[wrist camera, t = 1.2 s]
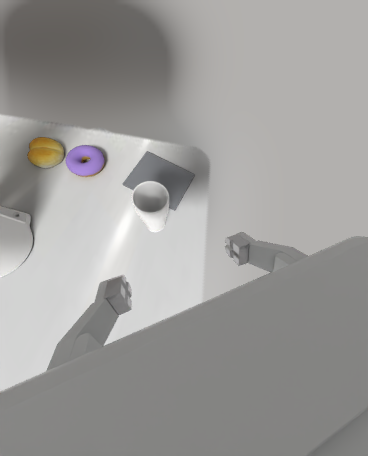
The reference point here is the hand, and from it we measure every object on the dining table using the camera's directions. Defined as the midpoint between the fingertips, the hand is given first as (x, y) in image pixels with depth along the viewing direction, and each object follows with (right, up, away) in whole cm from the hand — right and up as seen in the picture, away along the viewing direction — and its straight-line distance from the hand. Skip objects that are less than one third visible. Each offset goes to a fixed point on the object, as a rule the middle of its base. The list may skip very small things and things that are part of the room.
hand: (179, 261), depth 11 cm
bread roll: (-39, +24, +31) cm, 55 cm away
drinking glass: (-8, +4, +29) cm, 30 cm away
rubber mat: (-7, +17, +32) cm, 37 cm away
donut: (-28, +21, +31) cm, 47 cm away
